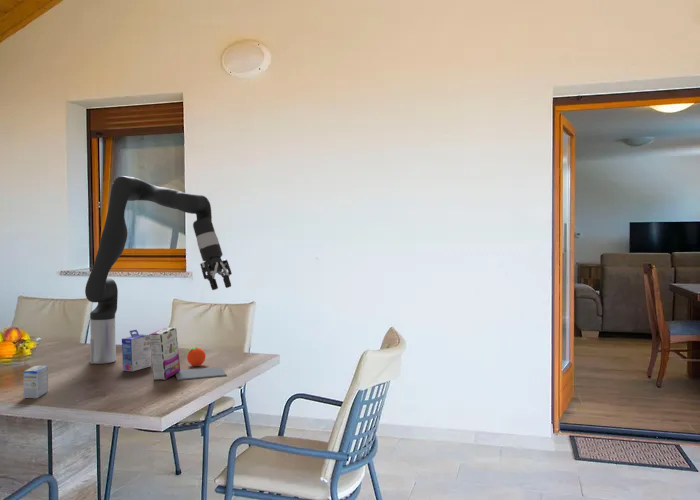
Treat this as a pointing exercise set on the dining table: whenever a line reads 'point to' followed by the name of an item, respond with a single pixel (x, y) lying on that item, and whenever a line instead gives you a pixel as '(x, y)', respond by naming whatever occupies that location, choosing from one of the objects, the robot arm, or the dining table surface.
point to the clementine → (196, 356)
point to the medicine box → (35, 381)
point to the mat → (200, 373)
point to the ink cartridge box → (136, 352)
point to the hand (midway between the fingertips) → (222, 288)
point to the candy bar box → (164, 353)
